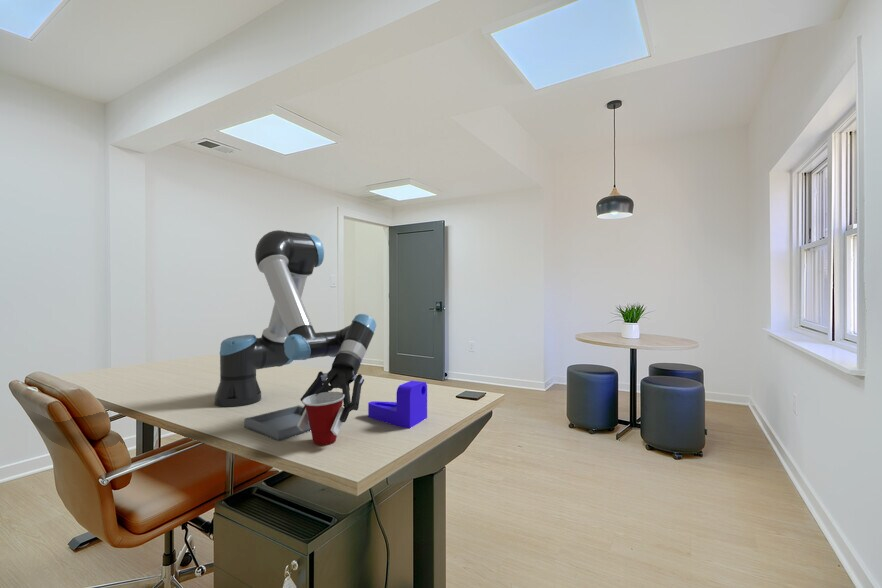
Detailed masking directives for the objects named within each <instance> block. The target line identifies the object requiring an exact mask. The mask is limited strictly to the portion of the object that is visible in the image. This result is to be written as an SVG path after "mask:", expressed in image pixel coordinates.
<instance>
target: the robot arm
mask: <svg viewBox="0 0 882 588" xmlns="http://www.w3.org/2000/svg"><path fill="white" fill-rule="evenodd" d="M255 247H256V248H255V253H254V257H255V263H256V266H257V269H258V270H259V272H261V273H262V274H264V277H265V279H266V282H267V286H268V287H269V290H270V293H271V294H272V297H273V299H274V300H273V301H274V304H273V308H272V311H271V312H272V313H271V317H270V320H269V324H268V327H266V328H265V329H263V330H262V332H261V333H262V334H261V337H257V336H256V335H255V334H243V335H242V334H241V335H236V336H232V337H228V338H225V339H224V340H222V341H221V342H220V349H219V363H220V364H219V365H220V366H219V377H220V379H219V384H218V387H217V389H216V392H215V395H214V405H215V406H218V407H239V406H246V405H251V404H255V403H258V402H260V401H261V400H262V391H261V388H260V385H259V383H258V379H257V370H262V369H267V368H268V369H269V368H274V367H275V368H276V367H279V368H280V367H283V366H286V365H290V364H292V362H293V361H306V360H310V359H315V358H323V357H331V358H334V360H333V362H332V364H331V368H330V370H329V371H328V372H323V371H318V373H317V376H316V377H315V379H314V381H313V382H312V383H311V384H310V386H309V388H307V390H306V391H305V393H304V394H303V395H302V396H301V397H300V401H301V403H302V404H303V402H302V401H303V399H304V398H306V397H308V396H310V395H313V394H317V395H318V394H319V393H322V392H332V390H333V389H340V390H341V391H342V392H341V393H343V394H345V396H344V399H343V403H342V407H340V409H339V411H338V414H337V416H336V418H335V421H334V423H333V426H332V428H331V431H332V433H333V434H334V435H337V436H338V435H339V432H340V430H341V427H342V425H343V423H346V421H347V420H348V416H349V414H350V412H352V411H358V410H359V407H360V398H361V393H362V386H363V384H364V382H365V379H364V377H363V375H362V374H361V373H358V371H359V369H360V368H361V364H362V362H363V361H364V357H365V355H366V354H367V353H366V352H367V351H368V349H369V347H370V346H369V345H370V343H371V341H372V338H373V337H374V336H375V335H374V334H375V331H376V327H377V322H376V319H374V318H373V317H372V316H371V315H368V314H366V313H359V314H357V315H355V317H353V319H352V320H351V324H349V325H347V326H345V327H344V328H342V329H338V330H334V331H324V332H323V331H322V332H320V331H319V332H316V331H315V329H314V327H313V325H312V322H311V320H310V318H309V315H308V314H309V313H308V312H307V310H306V307H305V305H304V303H303V299H302V296H303V292H304V289H305V286H306V282H307V278H308V277H309V276H312V275H313V272H314V269H315V268H318V267H320V266H321V265H322V264H323V262H324V259H325V249H324V244H323V242H322V240H321V239H320V238H319V237H318V236H316V235H314V234H309V233H306V232H305V233H303V232H293V231H287V230H282V229H281V230H280V229H279V230H272V231H269V232H267V233H265V234H264V235H262V237H261V238H260V239H259V240H258V243H256V246H255ZM351 383H353V388H352V395H350V390H351V389H350V384H351ZM260 399H261V400H260ZM259 400H260V401H259ZM257 401H258V402H257ZM303 406H304V408H303V410H302V412H301V418H300V420H299V422H298V425H297V427H298V428H299V429H300V430H301V431H304V430H305V428H306V426H307V424H308V421H309V419H308V414H307V411H306V408H305V405H303Z"/></svg>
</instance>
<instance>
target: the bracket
mask: <svg viewBox="0 0 882 588" xmlns="http://www.w3.org/2000/svg"><path fill="white" fill-rule="evenodd" d="M367 404H368V405H367V412H368V413H367V415H368V418H371V419H372V420H376V421H379V422H382V423H385V424H388V425H392V426H394V425H395V426H394V427H398V426H399V427H400V428H404V427H405V428H406V429H412V428H413V427H415V426H416V425H419V424H420V423H421V422H423V421H425V420H427V419H428V383H427V382H425V381H419V380H418V381H417V380H410V381H407V382H404V383H402V384H399V385H398V387H397V389H396V401H379V400H378V401H377V400H375V401H369V402H368V403H367ZM424 419H425V420H424ZM411 427H412V428H411Z"/></svg>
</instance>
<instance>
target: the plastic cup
mask: <svg viewBox="0 0 882 588" xmlns="http://www.w3.org/2000/svg"><path fill="white" fill-rule="evenodd" d="M344 396H345V394H343V393H342V392H341V391H329V392H322V393H319V394H318V395H317V394H313V395H310V396H308V397H306V398H304V399H303V401H301V403H302V402H303V403H302V404H303V406H305V408H306V411H307V414H308V419H309V424H310V429H311V431H310V432H311V438H312V441H313V444H314V445H315V446H329V445H331V444H334V443H336V441H337V437H338V435H334V434H333V433H332V431H331V428H332V426H333V423H334V421H335V418H336V416H337V414H338V411H339V409H340V407H343V404H344V403H343V399H344Z"/></svg>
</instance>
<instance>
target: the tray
mask: <svg viewBox="0 0 882 588" xmlns="http://www.w3.org/2000/svg"><path fill="white" fill-rule="evenodd" d="M304 406H305V405H299V404H298V405H295V406H290V407H286V408H282V409H279V410H274V411H271V412H266V413H262V414H258V415H254V416H250V417H247V418H246V417H245V418H244V419H243V420H244V428H245V429H248V430H250V431H253V432H255V433H258V434H261V435H262V434H263V436H265V435H266V436H265V437H267V436H268V438H270V437H271V438H270V439H272V438H273V440H276V441H277V440H278V441H277V442H279V441H282V440H286V439H288V438H289V437H290V438H293V437H296V436H299V435H301V433H302V434H305V433H304V432H306V433H308V432H307V431H309V432H311V431H310V430H311V429H310V424H309V421H308V424H307V426H306V428H305V430H304V431H301V430H300V429H299V428H298V427H297V425H298V422H299V420H300V418H301V412H302V410H303V408H304ZM298 434H299V435H298ZM295 435H296V436H295ZM292 436H293V437H292Z"/></svg>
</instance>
